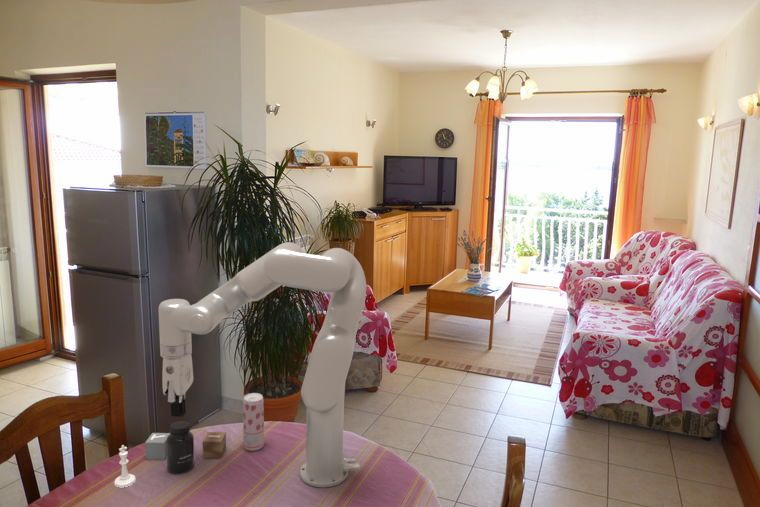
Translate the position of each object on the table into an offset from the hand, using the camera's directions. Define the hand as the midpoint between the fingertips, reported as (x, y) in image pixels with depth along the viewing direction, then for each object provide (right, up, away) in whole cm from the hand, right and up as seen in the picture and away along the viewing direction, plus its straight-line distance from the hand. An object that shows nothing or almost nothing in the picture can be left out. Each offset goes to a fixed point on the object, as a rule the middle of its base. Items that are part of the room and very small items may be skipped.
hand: (178, 414), depth 142 cm
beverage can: (+16, -13, +14) cm, 25 cm away
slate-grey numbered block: (-8, -13, +9) cm, 18 cm away
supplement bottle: (0, -15, +3) cm, 15 cm away
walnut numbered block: (+6, -14, +10) cm, 18 cm away
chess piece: (-12, -16, -4) cm, 20 cm away
